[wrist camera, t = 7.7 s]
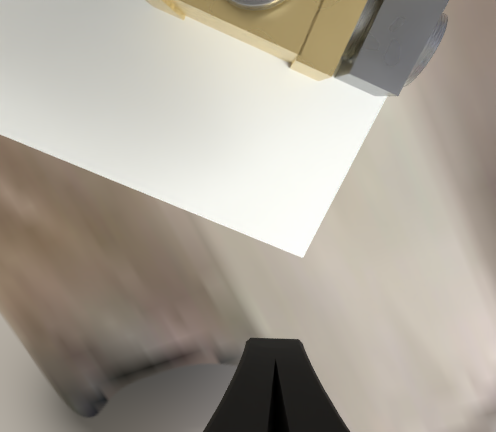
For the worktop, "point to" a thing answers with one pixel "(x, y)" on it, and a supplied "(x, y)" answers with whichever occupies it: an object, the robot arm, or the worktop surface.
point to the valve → (333, 36)
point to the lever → (255, 4)
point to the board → (180, 113)
